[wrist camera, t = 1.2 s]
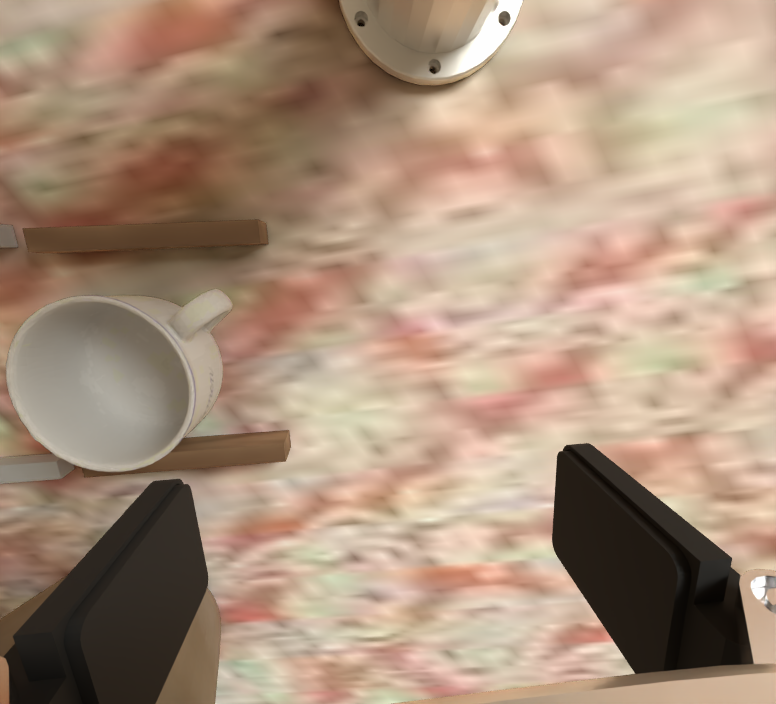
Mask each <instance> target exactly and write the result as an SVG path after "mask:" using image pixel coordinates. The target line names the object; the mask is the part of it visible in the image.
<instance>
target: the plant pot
mask: <svg viewBox="0 0 776 704" xmlns="http://www.w3.org/2000/svg"><path fill="white" fill-rule="evenodd" d="M66 577H67V576H66ZM66 577H65V578H66ZM65 578H63V579H62V580H60V581H59V582H57V583H55V584H54V585H52V586H51V587H49V588H47V589H46V590H44V591H43V592H41V593H40V594H38V595H37V596H35V597H33V598H32V599H30V600H29V601H27V602H26V603H24V604H23V605H21V606H20V607H18V608H17V609H15V610H14V611H12V612H11V613H9V614H8V615H6V616H5V617H3V618H2V619H0V656H1V657H3V656H4V655H5V654H6V653H7V652H8V651H9V649H10V648H11V647H12V646H13V645H14V644H15V642H14V639H13V635H14V634H15V633H16V632H17V631H18V630H19V629H20V627H21V626H22V625H23V624H24V623H25V622H26V621H27V620H28V619H29V618H30V616H31V615H32V614H33V613H34V612H35V611H36V610H37V609H38V608H39V606H40V605H41V604H42V603H43V602H44V601H45V600H46V599H47V598H48V597H49V595H50V594H51V593H52V592H53V591H54V590H55V589H56V588H57V587H58V585H59V584H60V583H61V582H62V581H63V580H64V579H65ZM220 638H221V618H220V613H219V609H218V606H217V603H216V601H215V599H214V597H213V595H212V594H211V592H210V591H209V589H208V588H207V590H206V593H205V595H204V597H203V599H202V602H201V604H200V606H199V608H198V611H197V613H196V615H195V617H194V620H193V622H192V624H191V626H190V628H189V631H188V633H187V635H186V637H185V640H184V642H183V644H182V646H181V648H180V651H179V653H178V655H177V657H176V660H175V662H174V664H173V666H172V668H171V671H170V673H169V675H168V677H167V680H166V682H165V684H164V686H163V689H162V691H161V693H160V695H159V697H158V700H157V702H156V704H215V697H216V687H217V676H218V666H219V654H220Z"/></svg>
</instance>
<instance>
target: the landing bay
mask: <svg viewBox="0 0 776 704" xmlns="http://www.w3.org/2000/svg"><path fill="white" fill-rule="evenodd" d="M16 247H18V245H17V241H16V237H15V233H14V229H13V225H4V224H0V248H16ZM73 470H74V465H73V464H71V463H69V462H67V461H66V460H64V459H61V458H59V457H57V456H56V455H54V454H40V455H26V456H13V457H0V484H4V483H16V482H29V481H41V480H54V479H62V478H63V477H64V476H66V475H67V474H68V473H70V472H71V471H73Z"/></svg>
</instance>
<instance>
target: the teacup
mask: <svg viewBox="0 0 776 704" xmlns="http://www.w3.org/2000/svg"><path fill="white" fill-rule="evenodd" d="M232 307H233V305H232V302H231V300H230V299H229V298H228V297H227V296H226V295H225V294H224V293H223V292H222V291H221V290H219V289H212V290H209V291H207V292H205V293H203V294H201V295H199V296H197V297H196V298H195V299H193V300H192V301H190V302H189V303H187V304H186V305H185V306H183V307H181V306H179V305H177V304H174V303H172V302H169V301H167V300H164V299H159V298H155V297H148V296H136V295H125V296H98V295H85V296H74V297H68V298H64V299H62V300H59V301H56V302H53V303H51V304H48V305H46V306H44V307H43V308H41V309H39V310H38V311H36V312H35V313H34V314H32V315H31V316H30V317H29V318H28V319H27V320H26V321H25V322H24V323H23V324H22V326H21V327H20V329H19V330H18V332H17V333H16V335H15V337H14V339H13V341H12V343H11V346H10V349H9V352H8V357H7V362H6V381H7V387H8V391H9V395H10V398H11V401H12V404H13V406H14V408H15V410H16V412H17V414H18V416H19V418H20V420H21V421H22V423H23V424H24V425H25V427H26V428H27V430H28V431H29V433H30V434H31V435H32V437H33V438H34V439H35V440H36V441H38V442H39V443H41V444H42V445H43V446H44V447H45V448H46V449H48V450H49V451H50V452H52V453H53V454H54V455H56V456H57V457H59V458H61V459H64V460H66V461H67V462H69V463H71V464H73V465H76V466H79V467H82V468H86V469H89V470H95V471H104V472H124V471H131V470H136V469H139V468H142V467H145V466H148V465H151V464H153V463H154V462H156V461H158V460H160V459H161V458H163V457H164V456H166V455H168V454H169V453H170V452H171V451H172V450H173V449H174V448H175V447H176V446H177V445H178V444H179V443H180V441H181V440H182V439H183V438H184V437H185V436H186V435H187V434H188V433H189V432H190V431H192V430H193V429H194V428H195V427H196V426H197V425H198V424H199V423H200V422H201V421H202V420H203V419H204V417H205V416H206V415H207V414H208V413H209V411H210V410H211V408H212V407H213V405H214V403H215V402H216V400H217V397H218V395H219V392H220V389H221V385H222V379H223V364H222V358H221V354H220V351H219V348H218V345H217V343H216V341H215V339H214V337H213V336H212V334H211V331H212V330H213V328H214V327H215V326H216V325H217V324H218V323H219V322H220V321H221V320H222V319H223V318H224V317H225V316H226V315H227V314H228V313H229V312H230V311H231V310H232Z"/></svg>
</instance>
